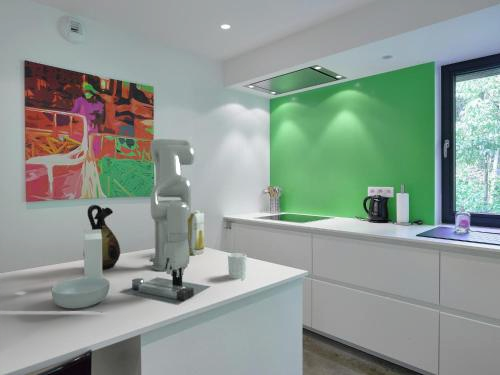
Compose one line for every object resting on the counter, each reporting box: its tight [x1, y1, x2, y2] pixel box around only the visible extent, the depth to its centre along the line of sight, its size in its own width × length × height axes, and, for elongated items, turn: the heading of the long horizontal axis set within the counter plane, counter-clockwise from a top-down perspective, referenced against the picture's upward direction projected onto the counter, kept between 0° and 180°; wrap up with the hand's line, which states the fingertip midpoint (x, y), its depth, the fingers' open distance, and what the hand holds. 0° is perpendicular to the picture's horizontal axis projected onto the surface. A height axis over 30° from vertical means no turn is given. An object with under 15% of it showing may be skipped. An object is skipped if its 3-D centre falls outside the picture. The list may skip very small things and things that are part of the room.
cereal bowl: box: [51, 277, 111, 310], centre depth 107 cm, size 17×17×7 cm
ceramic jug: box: [83, 204, 121, 271], centre depth 148 cm, size 17×15×30 cm
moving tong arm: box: [131, 277, 195, 299], centre depth 117 cm, size 25×5×3 cm, turn 64°
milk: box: [83, 229, 103, 278], centre depth 126 cm, size 6×6×22 cm
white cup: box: [227, 252, 248, 281], centre depth 137 cm, size 8×8×10 cm
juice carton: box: [188, 210, 205, 256], centre depth 182 cm, size 9×8×24 cm
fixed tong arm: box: [139, 283, 189, 302], centre depth 114 cm, size 20×3×3 cm, turn 65°
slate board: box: [119, 277, 211, 306], centre depth 120 cm, size 26×20×1 cm
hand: (177, 286), depth 120 cm, fingers closed
